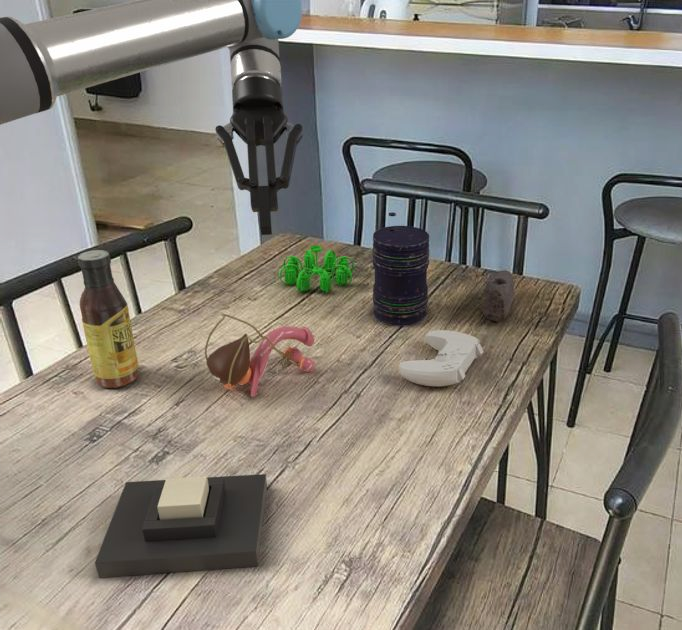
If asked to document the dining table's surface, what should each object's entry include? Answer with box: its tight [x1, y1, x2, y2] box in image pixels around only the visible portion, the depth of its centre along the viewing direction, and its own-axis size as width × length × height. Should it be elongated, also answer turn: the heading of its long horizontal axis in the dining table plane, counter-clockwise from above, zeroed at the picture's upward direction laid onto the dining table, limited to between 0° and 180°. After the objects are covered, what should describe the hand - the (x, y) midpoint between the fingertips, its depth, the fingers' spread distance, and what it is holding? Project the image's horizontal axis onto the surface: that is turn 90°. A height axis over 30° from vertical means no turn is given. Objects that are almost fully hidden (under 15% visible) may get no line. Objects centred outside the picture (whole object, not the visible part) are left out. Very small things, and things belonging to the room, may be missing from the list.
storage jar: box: [371, 211, 430, 327], centre depth 119 cm, size 10×10×18 cm
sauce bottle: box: [77, 249, 139, 389], centre depth 97 cm, size 6×6×20 cm
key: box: [157, 475, 209, 520], centre depth 74 cm, size 4×4×2 cm
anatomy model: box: [204, 313, 316, 398], centre depth 101 cm, size 10×14×15 cm
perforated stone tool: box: [480, 269, 515, 323], centre depth 124 cm, size 15×5×7 cm, turn 164°
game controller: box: [398, 329, 484, 387], centre depth 106 cm, size 14×4×10 cm
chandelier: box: [278, 245, 355, 294], centre depth 133 cm, size 15×15×7 cm
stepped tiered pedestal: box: [94, 473, 268, 579], centre depth 75 cm, size 16×12×4 cm
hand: (266, 230), depth 98 cm, fingers closed
